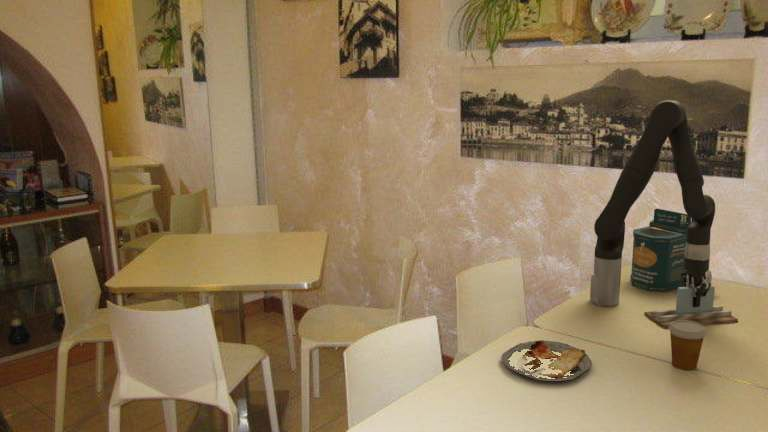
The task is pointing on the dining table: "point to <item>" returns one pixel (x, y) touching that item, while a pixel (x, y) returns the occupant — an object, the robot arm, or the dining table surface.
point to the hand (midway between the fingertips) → (693, 305)
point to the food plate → (566, 362)
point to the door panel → (686, 301)
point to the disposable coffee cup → (686, 343)
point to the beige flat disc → (708, 276)
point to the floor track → (692, 317)
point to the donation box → (660, 252)
